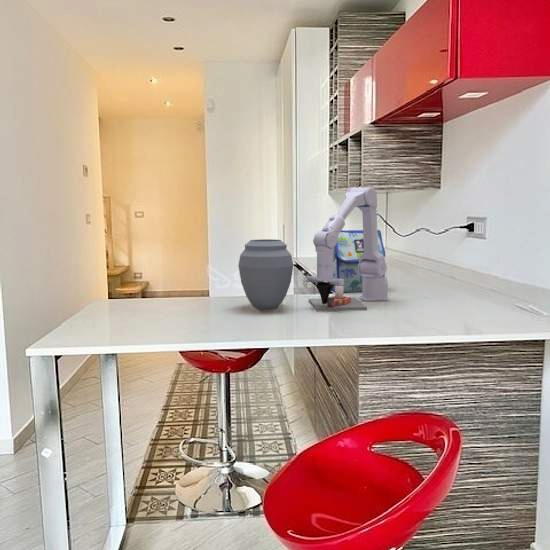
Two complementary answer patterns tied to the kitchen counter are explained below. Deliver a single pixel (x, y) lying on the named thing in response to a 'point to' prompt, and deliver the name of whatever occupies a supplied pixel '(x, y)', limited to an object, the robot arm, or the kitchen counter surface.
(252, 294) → the vase
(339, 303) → the tan tapered cylinder
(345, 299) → the square frame with handle
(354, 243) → the lunch bag
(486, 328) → the kitchen counter surface
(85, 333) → the kitchen counter surface
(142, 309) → the kitchen counter surface
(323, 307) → the station
